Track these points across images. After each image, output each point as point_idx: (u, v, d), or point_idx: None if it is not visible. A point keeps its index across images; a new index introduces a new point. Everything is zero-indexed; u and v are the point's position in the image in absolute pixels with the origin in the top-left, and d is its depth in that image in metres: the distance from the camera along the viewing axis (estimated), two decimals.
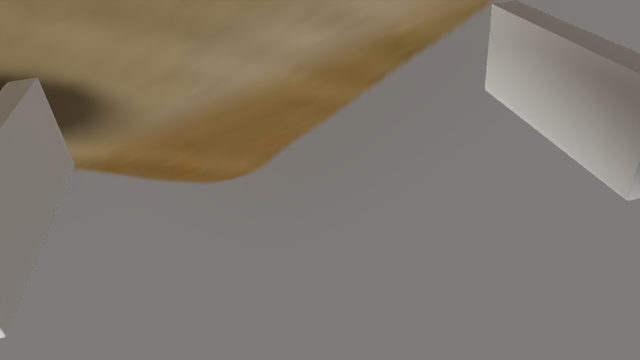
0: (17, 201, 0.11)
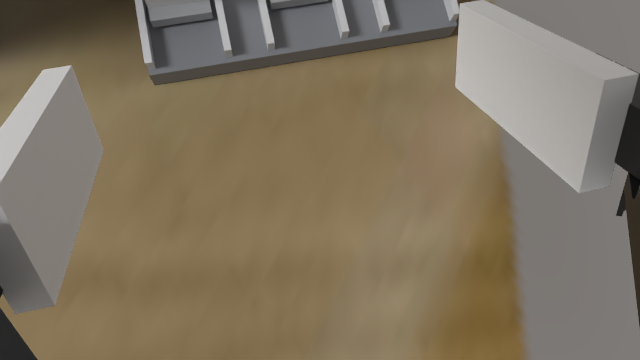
0: (59, 180, 0.11)
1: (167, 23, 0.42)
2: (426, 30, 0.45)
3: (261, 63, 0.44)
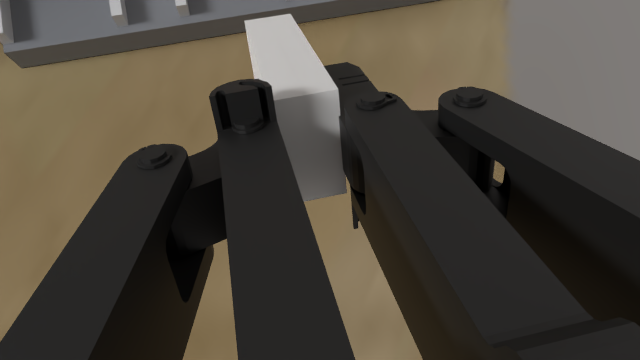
0: None
1: None
2: None
3: (173, 36, 0.31)
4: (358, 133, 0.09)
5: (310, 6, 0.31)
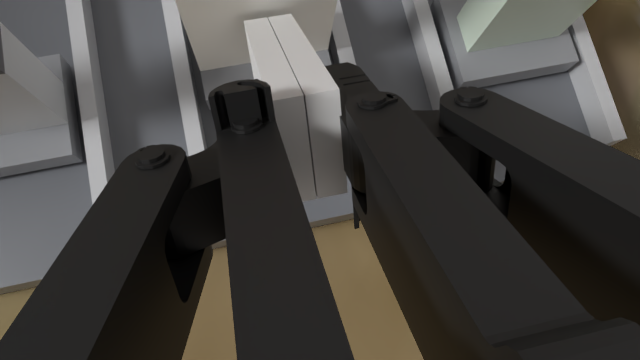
0: None
1: None
2: None
3: None
4: (359, 133, 0.09)
5: None
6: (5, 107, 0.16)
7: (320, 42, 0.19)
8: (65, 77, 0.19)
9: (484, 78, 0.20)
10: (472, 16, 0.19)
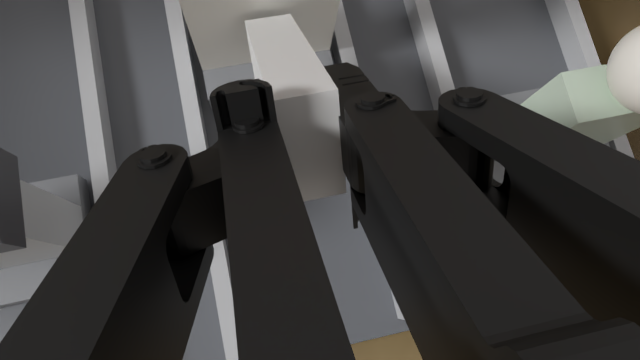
0: None
1: None
2: None
3: None
4: (358, 133, 0.09)
5: None
6: (22, 253, 0.15)
7: (322, 42, 0.19)
8: (83, 198, 0.18)
9: None
10: None
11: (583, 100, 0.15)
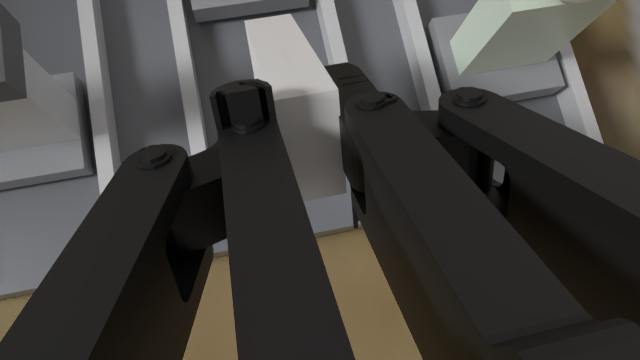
0: None
1: None
2: None
3: None
4: (358, 133, 0.09)
5: None
6: (23, 124, 0.17)
7: None
8: (78, 94, 0.20)
9: None
10: (464, 43, 0.20)
11: None
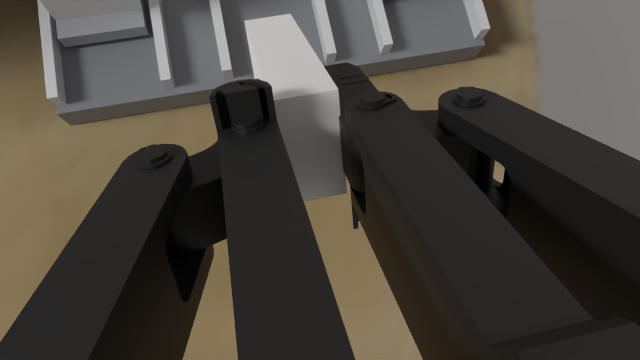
0: None
1: (84, 41, 0.30)
2: (443, 51, 0.33)
3: None
4: (358, 133, 0.09)
5: None
6: None
7: None
8: None
9: None
10: None
11: None
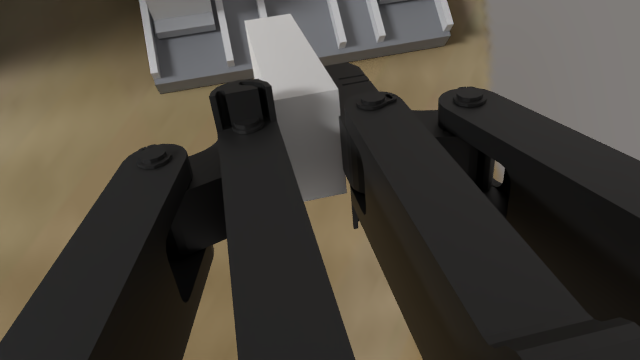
0: None
1: (172, 35, 0.44)
2: (421, 40, 0.47)
3: None
4: (358, 133, 0.09)
5: (355, 52, 0.46)
6: None
7: None
8: None
9: None
10: None
11: None
